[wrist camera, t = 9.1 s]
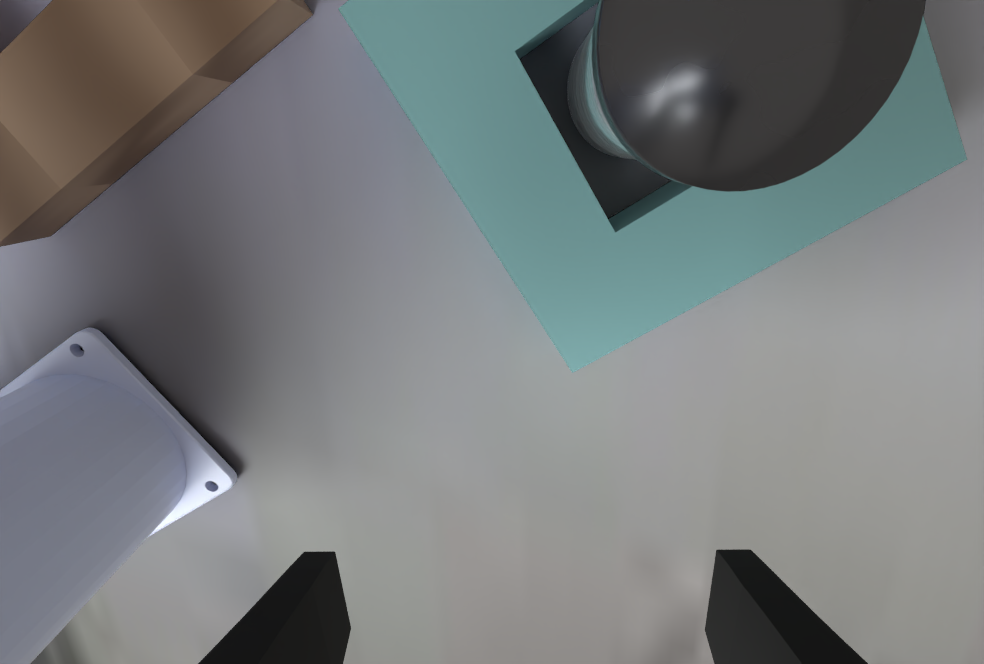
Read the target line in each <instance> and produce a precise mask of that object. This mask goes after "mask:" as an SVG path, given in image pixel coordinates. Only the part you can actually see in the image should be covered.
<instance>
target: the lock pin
mask: <svg viewBox="0 0 984 664" xmlns="http://www.w3.org/2000/svg"><path fill="white" fill-rule="evenodd" d="M925 1H926V0H599V3H598V7H597V10H596V15H595V21H594V26H593V27H592V29H591V30H590V32H589V33H588V35H587V36H586V38H585V39H584V41H583V42H582V44H581V45H580V47H579V49H578V50H577V52H576V54H575V56H574V59H573V61H572V64H571V67H570V71H569V75H568V82H567V99H568V106H569V111H570V114H571V117H572V120H573V122H574V124H575V126H576V128H577V130H578V131H579V132H580V134H581V135H582V137H583V138H584V139H585V140H586V141H587V142H588V143H589V144H591V145H592V146H593V147H594V148H596V149H598V150H599V151H601V152H603V153H606V154H608V155H611V156H615V157H620V158H627V159H635V160H638V161H639V162H640V163H641V164H643V165H644V166H645V167H647V168H648V169H650V170H652V171H653V172H655V173H657V174H658V175H660V176H663V177H665V178H668V179H670V180H672V181H675V182H679V183H683V184H686V185H690V186H694V187H699V188H703V189H707V190H715V191H724V192H731V191H749V190H755V189H762V188H766V187H770V186H773V185H777V184H780V183H783V182H786V181H788V180H791V179H793V178H796V177H798V176H800V175H803V174H804V173H806V172H808V171H810V170H812V169H813V168H815V167H817V166H819V165H821V164H822V163H824V162H825V161H826V160H828V159H829V158H831V157H832V156H834V155H835V154H836V153H838V152H839V151H840V150H841V149H843V148H844V147H845V146H846V145H847V144H848V143H850V142H851V141H852V140H853V139H854V138H855V137H856V136H857V135H858V134H859V133H860V132H861V131H862V130H863V129H864V128H865V127H866V126H867V125H868V124H869V122H870V121H871V120H872V119H873V118H874V117H875V115H876V114H877V113H878V111H879V110H880V109H881V107H882V106H883V105H884V103H885V102H886V101H887V99H888V98H889V96H890V94H891V93H892V91H893V89H894V88H895V86H896V85H897V83H898V81H899V80H900V78H901V75H902V73H903V71H904V69H905V67H906V65H907V63H908V61H909V59H910V57H911V54H912V51H913V48H914V45H915V43H916V40H917V37H918V34H919V30H920V26H921V22H922V18H923V14H924V9H925Z"/></svg>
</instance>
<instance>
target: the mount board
mask: <svg viewBox="0 0 984 664" xmlns="http://www.w3.org/2000/svg"><path fill="white" fill-rule="evenodd" d="M312 15H313V14H312V12H311V11H310V9H309V8H308V6H307V5H306V3H305V2H304V0H52V1H51V2H50V3H49V4H48V5H47V6H46V7H45V9H44V10H43V11H42V12H41V13H40V14H39V15H38V16H37V17H36V18H35V19H34V20H33V21H32V22H31V23H30V24H29V25H28V26H27V27H26V28H25V29H24V30H23V31H22V32H21V33H20V34H19V35H18V36H17V37H16V38H15V39H14V40H13V41H12V42H11V43H10V44H9V45H8V46H7V47H6V48H5V49H4V50H3V51H2V52H1V53H0V247H1V246H6V245H11V244H15V243H20V242H25V241H30V240H35V239H40V238H45V237H50V236H51V235H53V234H54V233H55V232H56V231H57V230H59V229H60V228H61V227H62V226H63V225H64V224H66V223H67V222H68V221H69V220H70V219H72V218H73V217H74V216H75V215H76V214H77V213H79V212H80V211H81V210H82V209H83V208H85V207H86V206H87V205H88V204H89V203H91V202H92V201H93V200H94V199H95V198H96V197H98V196H99V195H100V194H101V193H102V192H104V191H105V190H106V189H107V188H108V187H110V186H111V185H112V184H113V183H114V182H115V181H117V180H118V179H119V178H120V177H121V176H123V175H124V174H125V173H126V172H127V171H128V170H130V169H131V168H132V167H133V166H134V165H136V164H137V163H138V162H139V161H140V160H142V159H143V158H144V157H145V156H146V155H147V154H149V153H150V152H151V151H152V150H153V149H155V148H156V147H157V146H158V145H159V144H160V143H162V142H163V141H164V140H165V139H166V138H168V137H169V136H170V135H171V134H172V133H174V132H175V131H176V130H177V129H178V128H179V127H181V126H182V125H183V124H184V123H185V122H187V121H188V120H189V119H190V118H191V117H193V116H194V115H195V114H196V113H197V112H198V111H200V110H201V109H202V108H203V107H204V106H206V105H207V104H208V103H209V102H210V101H211V100H213V99H214V98H215V97H216V96H217V95H219V94H220V93H221V92H222V91H223V90H225V89H226V88H227V87H228V86H229V85H230V84H232V83H233V82H234V81H235V80H236V79H238V78H239V77H240V76H241V75H242V74H243V73H245V72H246V71H247V70H248V69H249V68H251V67H252V66H253V65H254V64H255V63H257V62H258V61H259V60H260V59H261V58H262V57H264V56H265V55H266V54H267V53H268V52H270V51H271V50H272V49H273V48H274V47H276V46H277V45H278V44H279V43H280V42H281V41H283V40H284V39H285V38H286V37H287V36H289V35H290V34H291V33H292V32H293V31H294V30H296V29H297V28H298V27H299V26H300V25H302V24H303V23H304V22H305V21H306V20H308V19H309V18H310V17H311V16H312Z"/></svg>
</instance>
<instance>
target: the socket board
mask: <svg viewBox="0 0 984 664" xmlns="http://www.w3.org/2000/svg"><path fill="white" fill-rule="evenodd" d="M598 2H599V0H348V1H347V2H346V3H345V4H344V5H342V6H341V7H340V8H339V11H340V13H341V14H342V16H343V17H344V19H345V20H346V22H347V23H348V25H349V27H350V28H351V30H352V31H353V33H354V34H355V36H356V37H357V39H358V40H359V42H360V44H361V45H362V47H363V48H364V50H365V51H366V53H367V54H368V56H369V58H370V59H371V61H372V62H373V64H374V65H375V67H376V68H377V70H378V72H379V73H380V75H381V76H382V78H383V79H384V81H385V82H386V84H387V86H388V87H389V89H390V90H391V92H392V93H393V95H394V96H395V98H396V100H397V101H398V103H399V104H400V106H401V107H402V109H403V110H404V112H405V113H406V115H407V117H408V118H409V120H410V121H411V123H412V124H413V126H414V127H415V129H416V131H417V132H418V134H419V135H420V137H421V138H422V140H423V141H424V143H425V145H426V146H427V148H428V149H429V151H430V152H431V154H432V155H433V157H434V159H435V160H436V162H437V163H438V165H439V166H440V168H441V169H442V171H443V173H444V174H445V176H446V177H447V179H448V180H449V182H450V183H451V185H452V187H453V188H454V190H455V191H456V193H457V194H458V196H459V197H460V199H461V200H462V202H463V204H464V205H465V207H466V208H467V210H468V211H469V213H470V214H471V216H472V218H473V219H474V221H475V222H476V224H477V225H478V227H479V228H480V230H481V232H482V233H483V235H484V236H485V238H486V239H487V241H488V242H489V244H490V246H491V247H492V249H493V250H494V252H495V253H496V255H497V256H498V258H499V260H500V261H501V263H502V264H503V266H504V267H505V269H506V270H507V272H508V274H509V275H510V277H511V278H512V280H513V281H514V283H515V284H516V286H517V287H518V289H519V291H520V292H521V294H522V295H523V297H524V298H525V300H526V301H527V303H528V305H529V306H530V308H531V309H532V311H533V312H534V314H535V315H536V317H537V319H538V320H539V322H540V323H541V325H542V326H543V328H544V329H545V331H546V333H547V334H548V336H549V337H550V339H551V340H552V342H553V343H554V345H555V347H556V348H557V350H558V351H559V353H560V354H561V356H562V357H563V359H564V361H565V362H566V364H567V365H568V367H569V368H570V370H571V371H572V373H573V372H575V371H577V370H579V369H580V368H582V367H584V366H586V365H588V364H590V363H592V362H593V361H595V360H597V359H599V358H601V357H603V356H604V355H606V354H608V353H610V352H612V351H614V350H616V349H617V348H619V347H621V346H623V345H625V344H627V343H629V342H630V341H632V340H634V339H636V338H638V337H640V336H641V335H643V334H645V333H647V332H649V331H651V330H653V329H654V328H656V327H658V326H660V325H662V324H664V323H666V322H667V321H669V320H671V319H673V318H675V317H677V316H678V315H680V314H682V313H684V312H686V311H688V310H690V309H691V308H693V307H695V306H697V305H699V304H701V303H702V302H704V301H706V300H708V299H710V298H712V297H714V296H715V295H717V294H719V293H721V292H723V291H725V290H727V289H728V288H730V287H732V286H734V285H736V284H738V283H739V282H741V281H743V280H745V279H747V278H749V277H751V276H752V275H754V274H756V273H758V272H760V271H762V270H764V269H765V268H767V267H769V266H771V265H773V264H775V263H776V262H778V261H780V260H782V259H784V258H786V257H788V256H789V255H791V254H793V253H795V252H797V251H799V250H801V249H802V248H804V247H806V246H808V245H810V244H812V243H813V242H815V241H817V240H819V239H821V238H823V237H825V236H826V235H828V234H830V233H832V232H834V231H836V230H838V229H839V228H841V227H843V226H845V225H847V224H849V223H850V222H852V221H854V220H856V219H858V218H860V217H862V216H863V215H865V214H867V213H869V212H871V211H873V210H874V209H876V208H878V207H880V206H882V205H884V204H886V203H887V202H889V201H891V200H893V199H895V198H897V197H899V196H900V195H902V194H904V193H906V192H908V191H910V190H911V189H913V188H915V187H917V186H919V185H921V184H923V183H924V182H926V181H928V180H930V179H932V178H934V177H936V176H937V175H939V174H941V173H943V172H945V171H947V170H948V169H950V168H952V167H954V166H956V165H958V164H960V163H961V162H963V161H965V160H967V157H966V154H965V151H964V148H963V144H962V141H961V138H960V135H959V131H958V128H957V125H956V121H955V118H954V115H953V112H952V108H951V105H950V102H949V99H948V95H947V92H946V89H945V86H944V82H943V79H942V76H941V72H940V69H939V66H938V63H937V59H936V56H935V53H934V50H933V46H932V43H931V40H930V37H929V33H928V30H927V27H926V23H925V20H924V17H923V18H922V22H921V26H920V30H919V34H918V37H917V40H916V43H915V45H914V48H913V51H912V54H911V57H910V59H909V61H908V63H907V65H906V67H905V69H904V71H903V73H902V75H901V78H900V80H899V81H898V83H897V85H896V86H895V88H894V89H893V91H892V93H891V94H890V96H889V98H888V99H887V101H886V102H885V103H884V105H883V106H882V107H881V109H880V110H879V111H878V113H877V114H876V115H875V117H874V118H873V119H872V120H871V121H870V122H869V124H868V125H867V126H866V127H865V128H864V129H863V130H862V131H861V132H860V133H859V134H858V135H857V136H856V137H855V138H854V139H853V140H852V141H851V142H850V143H848V144H847V145H846V146H845V147H844V148H843V149H841V150H840V151H839V152H838V153H836V154H835V155H834V156H832V157H831V158H829V159H828V160H826V161H825V162H824V163H822V164H821V165H819V166H817V167H815V168H813V169H812V170H810V171H808V172H806V173H804V174H803V175H800V176H798V177H796V178H793V179H791V180H788V181H786V182H783V183H780V184H777V185H773V186H770V187H766V188H762V189H755V190H749V191H731V192H724V191H715V190H707V189H703V188H699V187H694V186H690V185H686V184H683V183H679V182H675V181H671V182H669V183H667V184H666V185H664V186H662V187H661V188H659V189H657V190H656V191H654V192H652V193H651V194H649V195H648V196H646V197H644V198H643V199H641V200H639V201H638V202H636V203H634V204H633V205H631V206H630V207H628V208H626V209H625V210H623V211H621V212H620V213H618V214H616V215H615V216H613V217H611V218H610V219H608V218H607V217H606V215H605V213H604V211H603V209H602V208H601V206H600V204H599V202H598V200H597V199H596V197H595V195H594V193H593V191H592V190H591V188H590V186H589V184H588V182H587V181H586V179H585V177H584V175H583V173H582V172H581V170H580V168H579V166H578V164H577V163H576V161H575V159H574V157H573V155H572V154H571V152H570V150H569V148H568V146H567V145H566V143H565V141H564V139H563V137H562V136H561V134H560V132H559V130H558V128H557V127H556V125H555V123H554V121H553V119H552V118H551V116H550V114H549V112H548V110H547V109H546V107H545V105H544V103H543V101H542V100H541V98H540V96H539V94H538V92H537V91H536V89H535V87H534V85H533V83H532V82H531V80H530V78H529V76H528V74H527V73H526V71H525V69H524V67H523V65H522V64H521V62H520V60H519V59H521V58H522V57H523V56H525V55H526V54H528V53H529V52H530V51H532V50H533V49H534V48H536V47H537V46H539V45H540V44H541V43H543V42H544V41H545V40H547V39H548V38H550V37H551V36H552V35H554V34H555V33H556V32H558V31H559V30H561V29H562V28H563V27H565V26H566V25H568V24H569V23H570V22H572V21H573V20H574V19H576V18H577V17H579V16H580V15H581V14H583V13H584V12H585V11H587V10H588V9H590V8H591V7H592V6H594V5H595V4H596V3H598Z"/></svg>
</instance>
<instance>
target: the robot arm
mask: <svg viewBox="0 0 984 664" xmlns="http://www.w3.org/2000/svg"><path fill="white" fill-rule="evenodd" d="M79 345H80V346H81V347H82V348H83V350H84V351H82V350H81V349H80V347H79ZM212 481H213V482H215V483H216V484H217V485H215V484H213V483H212ZM236 481H237V474H236V472H235V471H234V470H233V469H232V468H231V467H230V466H229V465H228V463H227V462H226V461H225V460H224V459H223V458H222V457H221V456H220V455H219V454H218V453H217V452H216V451H215V450H214V449H213V448H212V447H211V446H210V445H209V444H208V443H207V442H206V441H205V440H204V439H203V437H202V436H201V435H200V434H199V433H198V432H197V431H196V430H195V429H194V428H193V427H192V426H191V425H190V424H189V423H188V422H187V421H186V420H185V419H184V418H183V417H182V416H181V415H180V414H179V412H178V411H177V410H176V409H175V408H174V407H173V406H172V405H171V404H170V403H169V402H168V401H167V400H166V399H165V398H164V397H163V396H162V395H161V394H160V393H159V392H158V391H157V390H156V389H155V388H154V386H153V385H152V384H151V383H150V382H149V381H148V380H147V379H146V378H145V377H144V376H143V375H142V374H141V373H140V372H139V371H138V370H137V369H136V368H135V367H134V366H133V365H132V364H131V363H130V361H129V360H128V359H127V358H126V357H125V356H124V355H123V354H122V353H121V352H120V351H119V350H118V349H117V348H116V347H115V346H114V345H113V344H112V343H111V342H110V341H109V340H108V339H107V338H106V337H105V335H104V334H103V333H101V332H100V331H99V330H97V329H94V328H85V329H83V330H80V331H78V332H76V333H75V334H73V335H72V336H71V337H69V338H68V339H67V340H66V341H64V342H63V343H62V344H60V345H59V346H58V347H56V348H55V349H54V350H52V351H51V352H50V353H48V354H47V355H46V356H44V357H43V358H42V359H41V360H39V361H38V362H37V363H35V364H34V365H33V366H31V367H30V368H29V369H27V370H26V371H25V372H23V373H22V374H21V375H19V376H18V377H17V378H15V379H14V380H13V381H12V382H10V383H9V384H8V385H6V386H5V387H4V388H2V389H1V390H0V664H30V663H31V662H32V661H33V660H34V659H35V658H36V657H37V656H38V655H39V654H40V653H41V652H42V650H43V649H44V648H45V647H46V646H47V645H48V644H49V643H50V642H51V641H52V640H53V639H54V638H55V636H56V635H57V634H58V633H59V632H60V631H61V630H62V629H63V628H64V627H65V626H66V625H67V624H68V622H69V621H70V620H71V619H72V618H73V617H74V616H75V615H76V614H77V613H78V612H79V611H80V610H81V609H82V607H83V606H84V605H85V604H86V603H87V602H88V601H89V600H90V599H91V598H92V597H93V596H94V595H95V593H96V592H97V591H98V590H99V589H100V588H101V587H102V586H103V585H104V584H105V583H106V582H107V581H108V579H109V578H110V577H111V576H112V575H113V574H114V573H115V572H116V571H117V570H118V569H119V568H120V567H121V565H122V564H123V563H124V562H125V561H126V560H127V559H128V558H129V557H130V556H131V555H132V554H133V553H134V551H135V550H136V549H137V548H138V547H139V546H140V545H141V544H142V543H143V542H144V541H145V540H146V539H147V537H149V536H150V535H152V534H154V533H156V532H157V531H159V530H161V529H162V528H164V527H166V526H168V525H169V524H171V523H173V522H174V521H176V520H178V519H180V518H181V517H183V516H185V515H186V514H188V513H190V512H191V511H193V510H195V509H197V508H198V507H200V506H202V505H203V504H205V503H207V502H209V501H210V500H212V499H214V498H215V497H217V496H219V495H221V494H222V493H224V492H226V491H227V490H229V489H230V488H231V487H232V486H233V485H234V484H235V483H236ZM350 630H351V626H350V621H349V616H348V612H347V607H346V602H345V597H344V593H343V588H342V583H341V578H340V573H339V569H338V564H337V559H336V554H335V552H304V553H303V554H302V555H301V556H300V557H299V558H298V559H297V560H296V561H295V562H294V563H293V564H292V565H291V566H290V567H289V568H288V569H287V570H286V572H285V573H284V574H283V575H282V576H281V577H280V578H279V579H278V580H277V581H276V582H275V583H274V585H273V586H272V587H271V588H270V589H269V590H268V591H267V592H266V593H265V594H264V595H263V596H262V597H261V599H260V600H259V601H258V602H257V603H256V604H255V605H254V606H253V607H252V608H251V609H250V610H249V611H248V612H247V614H246V615H245V616H244V617H243V618H242V619H241V620H240V621H239V622H238V623H237V624H236V625H235V626H234V627H233V628H232V629H231V630H230V631H229V632H228V633H227V634H226V636H225V637H224V638H223V639H222V640H221V641H220V642H219V643H218V644H217V645H216V646H215V647H214V648H213V649H212V650H211V651H210V652H209V653H208V654H207V655H206V656H205V657H204V658H203V659H202V660H201V661H200V662H199V663H198V664H343V661H344V656H345V652H346V648H347V643H348V639H349V635H350ZM705 632H706V635H707V639H708V642H709V646H710V649H711V653H712V656H713V660H714V663H715V664H868V663H867V662H866V661H865V660H864V659H862V658H861V657H860V656H859V655H858V654H857V653H856V652H855V651H854V650H853V649H852V648H851V647H850V646H849V645H848V644H846V643H845V642H844V641H843V640H842V639H841V638H840V637H839V636H838V635H837V634H836V633H835V632H834V631H833V630H832V629H831V628H830V627H829V626H828V625H827V624H826V623H825V622H823V621H822V620H821V619H820V618H819V617H818V616H817V615H816V614H815V613H814V612H813V611H812V610H811V609H810V608H809V607H808V606H807V605H806V604H805V603H804V602H803V601H802V600H801V599H800V598H799V597H798V596H797V595H796V594H795V593H794V592H793V591H792V590H791V589H790V588H789V587H788V586H787V585H786V584H785V583H784V582H783V581H782V580H781V579H780V578H779V577H778V576H777V575H776V574H775V573H774V572H773V571H772V570H771V569H770V568H769V567H768V566H767V565H766V564H765V563H764V562H763V561H762V560H761V559H760V558H759V557H758V556H757V555H756V554H755V553H753V552H752V551H751V550H716V557H715V564H714V571H713V578H712V585H711V592H710V598H709V605H708V612H707V619H706V626H705Z"/></svg>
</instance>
